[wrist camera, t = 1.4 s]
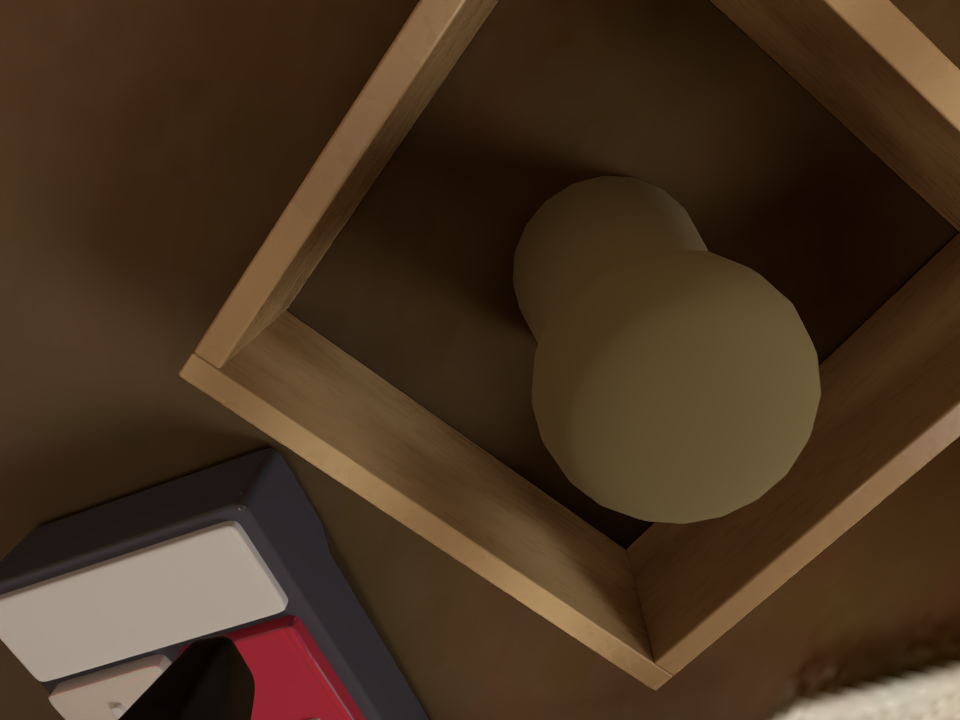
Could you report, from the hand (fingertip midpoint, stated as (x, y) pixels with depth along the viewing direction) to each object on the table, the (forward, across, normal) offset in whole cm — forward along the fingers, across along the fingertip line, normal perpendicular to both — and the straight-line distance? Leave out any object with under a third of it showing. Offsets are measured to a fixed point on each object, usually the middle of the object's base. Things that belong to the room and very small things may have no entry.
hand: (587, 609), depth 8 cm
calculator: (+13, +14, +14) cm, 24 cm away
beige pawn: (+15, -2, +2) cm, 15 cm away
